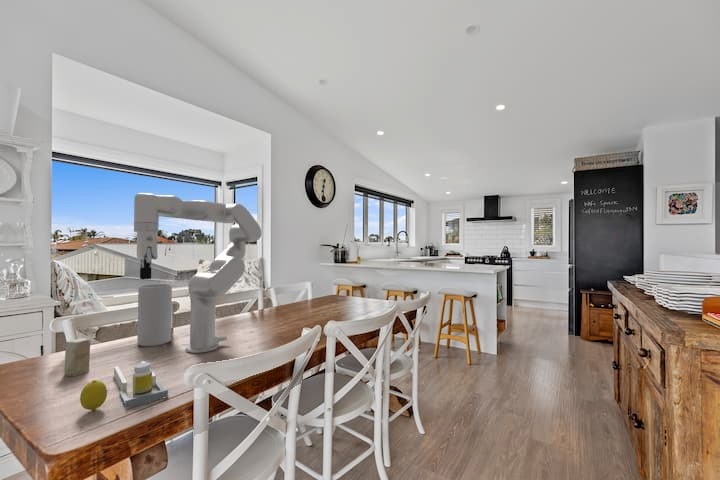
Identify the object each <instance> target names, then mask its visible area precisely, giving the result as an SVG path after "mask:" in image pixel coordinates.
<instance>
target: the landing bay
mask: <svg viewBox="0 0 720 480" xmlns="http://www.w3.org/2000/svg"><path fill="white" fill-rule="evenodd" d="M154 387H155V388H156V391H152V392H151V393H149V394H145V395H141V396H137V397H135V396H133V397H130V398H129V397H128V396H127V394H126V393H125V392H124V391H121V390H120V391H119V397H120V399H121V401H122V403H123V405H124V408H125V409H129V408H133V407H136V406H139V405H140V406H141V405H144V404H146V402H147V403H150V402H149V401H151V402H154V401H153V400H155V401H157V400H156V399H159V400H161V399H160V398H162V399H164V398H163V397H166V398H168V397H169V389H168V388H164V386H163V385H162V384H161V383H160V381H158V382H157V381H156V383H155V386H154ZM157 390H159V391H157ZM167 396H168V397H167ZM143 403H144V404H143Z"/></svg>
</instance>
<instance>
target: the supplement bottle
mask: <svg viewBox="0 0 720 480" xmlns="http://www.w3.org/2000/svg"><path fill="white" fill-rule="evenodd" d="M151 367H152V366H151V363H150V362H146V363H141V362H139V363H138V364H135V365H134V367H133V368H134V369H133V371H134V372H133V373H132V396H133V397H137V396H141V395H145V394H149V393H153V386H152V371H153V370H152V369H151ZM150 369H151V370H150Z"/></svg>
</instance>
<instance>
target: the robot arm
mask: <svg viewBox="0 0 720 480" xmlns="http://www.w3.org/2000/svg"><path fill="white" fill-rule="evenodd" d="M133 198H134V200H133V203H134V204H133V232H135V233H136V257H137V259H139V261H140V262H139V263H140V264H139V265H140V266H139V280H151V279H152V260H157V259H158V255H159V254H158V236H157V235H158V234H157V233H159V227H160V226H159V223H160V220H159V219H160V217H161V218H171V219H182V220H184V219H185V220H191V221H201V222H210V223H211V222H212V223H218V224H219V223H220V224H221V223H222V224H233V225H232V226H231V227H230V229H229V231H228V237H229V238H228V239H229V241H228V245H227V247H226V248H225V249H224V250H223V251H222V252H221V253H220V254H219V255H217V257H215V258H214V259H213V260H212V262H211V263H210V264H209V272H197V273H195V274H194V275H192V276H191V277H190V279H189V282H188V294H189V298H190V317H189V323H190V324H189V344H188V345H186V346H185V351H186V352H187V353H191V354H202V353H208V352H212V351H215V350H217V349H219V346H220V344H219V343H220V342H224V341H228V340H227V339H228V338H227V335H224V336H223V335H218V336H217V335H216V310H217V309H216V299H215V298H220V297H223V296H224V295H225V294H227V293H228V292H229V291H230V289H231V288H232V287H233V286H235V284H236V283H237V282H238V281H239V280H240V278H241V277H243V275H244V273H245V269H246V265H245V262H244V260H243V259H244V257H245V256H246V243H248V242H249V243H254V242H257V241H259V240H260V239H261V237H262V229H261V226H260V225H259V223H258V222H257V221H256V219H255V218H254V216H253V215H252V213H251V212H250V211H249V210H248V209H247V208H246V207H245V206H244V205H243V204H240V203H230V204H229V203H228V204H227V203H222V202H215V201H208V200H202V199H201V200H199V199H198V200H197V199H195V200H183V199H181V198H180V197H178V196H176V195H159V194H154V193H146V192H145V193H144V192H143V193H142V192H140V193H137V194H135V195H134V197H133Z"/></svg>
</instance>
